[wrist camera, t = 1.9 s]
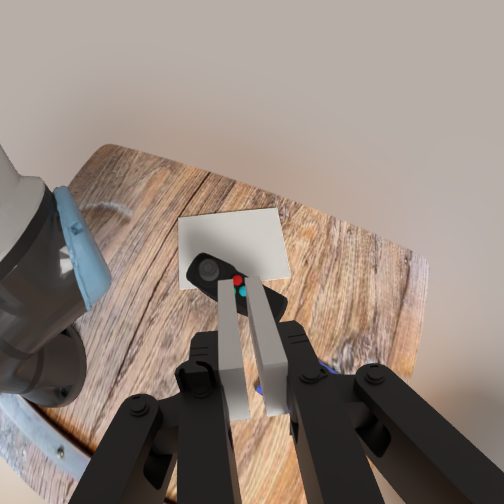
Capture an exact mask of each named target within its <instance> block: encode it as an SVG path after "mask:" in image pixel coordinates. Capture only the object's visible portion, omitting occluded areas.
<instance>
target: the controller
mask: <svg viewBox="0 0 504 504" xmlns="http://www.w3.org/2000/svg"><path fill="white" fill-rule="evenodd" d="M245 278H248V276H246V275H244V274H243V273H241V272H239V271H237V270H236V268H235V267H234V266H233V265H231V264H230V263H227V262H225V261H223V260H221V259H219V258H216V257H214V256H212V255H210V254H207V253H204V252H203V253H199V254H198V255H197V256H196V257H195V258H194V259H193V261H192V263H191V264H190V266H189V268H188V270H187V272H186V279H187V280H188V281H189V282H190V283H191V284H193V285H194V286H195V287H197V288H198V289H200V290H201V291H202V292H203V293H204V294H206V295H207V296H209V297H210V298H211V299H213V300H215V301H216V302H218V281H220V280H229V279H233V284H234V293H235V302H236V310H237V313H239V314H242V315H244V316H247V317H248V308H247V298H246V287H245ZM262 285H263V284H262ZM263 288H264V291H265V294H266V297H267V300H268V303H269V306H270V309H271V312H272V315H273V318H274V321H275V323H278V322H279V321H280V319H281V318H282V316H283V314H284V312H285V310H286V307H287V303H288V301H287V298H286V297H285V296H283V295H281V294H279V293H277V292H276V291H274V290H272V289H270V288H268V287H266V286H264V285H263Z"/></svg>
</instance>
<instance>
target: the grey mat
mask: <svg viewBox="0 0 504 504" xmlns="http://www.w3.org/2000/svg"><path fill="white" fill-rule="evenodd" d="M178 251H179V287H180V290H185V289H195V288H197V287H195V286H194V285H193V284H191V283H190V282H189V281H188V280H187V279H186V272H187V270H188V268H189V266H190V264H191V263H192V261H193V259H194V258H195V257H196V256H197V255H198V254H199V253H203V252H204V253H207V254H210V255H212V256H214V257H216V258H219V259H221V260H223V261H225V262H227V263H230V264H231V265H233V266H234V267H235V268H236V270H237V271H239V272H241V273H243V274H244V275H246V276H248V277H256V276H260V279H261V281H269V280H277V279H285V278H291V274H290V269H289V263H288V258H287V253H286V248H285V243H284V239H283V234H282V229H281V224H280V219H279V215H278V210H277V208H268V209H257V210H246V211H236V212H226V213H217V214H207V215H199V216H190V217H182V218H178Z"/></svg>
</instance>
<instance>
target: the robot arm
mask: <svg viewBox="0 0 504 504" xmlns="http://www.w3.org/2000/svg"><path fill="white" fill-rule="evenodd" d="M111 281H112V277H111V273H110V270H109V268H108V266H107V263H106V261H105V259H104V257H103V255H102V253H101V251H100V249H99V247H98V245H97V243H96V241H95V239H94V237H93V235H92V233H91V231H90V229H89V227H88V225H87V223H86V221H85V219H84V217H83V215H82V213H81V211H80V209H79V207H78V205H77V203H76V201H75V200H74V198H73V196H72V194H71V193H70V191H69V189H68V187H66V186H61V187H59V188H58V187H56V188H55V189H54V191H53V193H52V192H51V191H50V190H49V189H48V187H47V186H46V184H45V183H44V181H43V180H42V179H41V178H40V177H34V176H21V175H20V174H18V172H17V170H16V169H15V168H14V166H13V164H12V163H11V161H10V160H9V158H8V156H7V155H6V153H5V151H4V150H3V148H2V146H1V145H0V392H1V393H10V394H20V395H22V396H23V397H25V398H27V399H29V400H30V401H32V402H34V403H36V404H38V405H40V406H43V407H48V408H58V407H64V406H67V405H69V404H70V403H72V402H73V401H74V400H75V399H76V398H77V396H78V395H79V393H80V392H81V390H82V387H83V385H84V381H85V377H86V355H85V350H84V347H83V344H82V341H81V339H80V337H79V335H78V333H77V332H76V330H75V329H74V328H73V326H72V325H71V324H72V323H73V322H74V321H75V320H77V319H78V318H79V317H80V316H82V315H83V314H84V313H85V312H87V311H89V310H90V309H91V306H92V305H93V304H95V303H96V302H97V301H98V300H99V299H100V298H101V297H102V296H103V295H104V294H106V293H107V292H108V290H109V288H110V285H111ZM245 287H246V298H247V308H248V318H249V326H250V331H251V337H252V342H253V347H254V353H255V358H256V363H257V369H258V374H259V379H260V384H261V389H262V394H263V400H264V405H265V410H266V415H267V417H270V416H276V415H282V414H287V409H288V411H289V414H290V435H292V436H293V441H294V445H295V450H296V454H297V459H298V463H299V468H300V472H301V476H302V481H303V485H304V490H305V494H306V499H307V503H308V504H385V502H384V500H383V497H382V495H381V492H380V489H379V487H378V484H377V482H376V479H375V477H374V474H373V472H372V469H371V467H370V464H369V462H368V459H367V457H368V458H369V459H370V460H371V462H372V463H373V464H374V465H375V466H376V468H377V469H378V470H379V472H380V473H381V474H382V475H383V477H384V478H385V479H386V480H387V481H388V483H389V484H390V485H391V486H392V487H393V489H394V490H395V491H396V492H397V494H398V495H399V496H400V497H401V498H402V499H403V501H404V502H405V503H406V504H504V473H503V471H501V470H500V469H499V468H498V467H497V466H496V465H495V464H494V463H493V462H492V461H491V460H490V459H488V458H487V457H486V456H485V455H484V454H483V453H482V452H481V451H480V450H479V449H477V448H476V447H475V446H474V445H473V444H472V443H471V442H470V441H469V440H468V439H466V438H465V437H464V436H463V435H462V434H461V433H460V432H459V431H458V430H457V429H456V428H455V427H453V426H452V425H451V424H450V423H449V422H448V421H447V420H446V419H445V418H443V416H441V415H440V414H439V413H438V412H437V411H436V410H435V409H434V408H433V407H431V406H430V405H429V404H428V403H427V402H426V401H425V400H424V399H423V398H422V397H420V396H419V395H418V394H417V393H416V392H415V391H414V390H413V389H412V388H411V387H409V386H408V385H407V384H406V383H405V382H404V381H403V380H402V379H401V378H399V377H398V376H397V375H396V374H395V373H394V372H393V371H392V370H391V369H389V368H388V367H386V366H385V365H381V364H378V363H370V364H366V365H363V366H362V367H360V368H359V369H358V370H357V372H356V374H355V375H341V374H335V373H331V372H330V371H329V370H328V368H327V367H325V366H323V365H321V364H320V362H319V360H318V358H317V356H316V354H315V352H314V350H313V347H312V345H311V343H310V341H309V339H308V337H307V335H306V333H305V330H304V328H303V326H302V325H300V324H299V323H298V322H296V321H295V320H293V321H286V322H279V323H275V321H274V318H273V315H272V312H271V309H270V306H269V303H268V300H267V297H266V294H265V291H264V288H263V285H262V282H261V279H260V276H256V277H248V278H245ZM189 356H190V357H189V360H188V361H186V362H184V363H182V364H181V365H179V366H178V367H177V368H176V371H175V373H174V374H175V377H176V380H177V383H178V386H179V389H180V392H179V393H178V394H176V395H174V396H172V397H169V398H165V399H162V400H158V401H157V400H156V399H155V398H154V397H153V396H151V395H148V394H136V395H132V396H130V397H128V398H127V399H125V401H124V402H123V403H122V404H121V406H120V408H119V409H118V411H117V413H116V415H115V416H114V418H113V420H112V422H111V424H110V425H109V427H108V429H107V431H106V432H105V434H104V436H103V438H102V440H101V442H100V443H99V445H98V447H97V449H96V451H95V453H94V455H93V456H92V458H91V460H90V462H89V464H88V466H87V468H86V470H85V471H84V473H83V475H82V477H81V479H80V481H79V483H78V485H77V487H76V489H75V491H74V493H73V495H72V497H71V499H70V501H69V503H68V504H163V501H164V498H165V495H166V492H167V489H168V486H169V483H170V480H171V476H172V473H173V470H174V467H175V464H176V461H177V504H242V501H241V495H240V488H239V482H238V475H237V468H236V461H235V453H234V446H233V438H232V432H231V427H230V421H237V420H247V419H251V417H250V410H249V403H248V396H247V388H246V381H245V373H244V366H243V358H242V350H241V342H240V334H239V326H238V318H237V310H236V302H235V293H234V284H233V279H229V280H220V281H218V331H208V332H197V333H196V334H195V336H194V337H193V338H192V340H191V345H190V354H189ZM365 454H366V455H367V457H366V455H365Z"/></svg>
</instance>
